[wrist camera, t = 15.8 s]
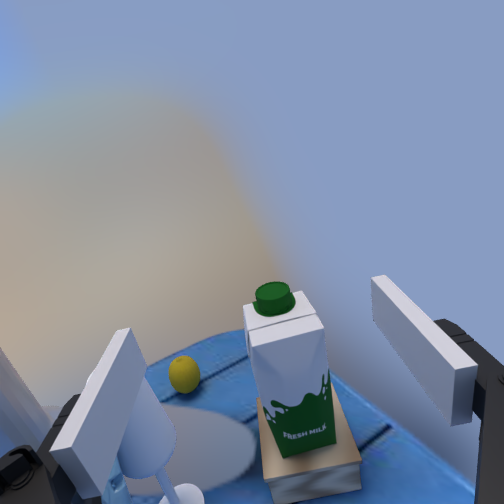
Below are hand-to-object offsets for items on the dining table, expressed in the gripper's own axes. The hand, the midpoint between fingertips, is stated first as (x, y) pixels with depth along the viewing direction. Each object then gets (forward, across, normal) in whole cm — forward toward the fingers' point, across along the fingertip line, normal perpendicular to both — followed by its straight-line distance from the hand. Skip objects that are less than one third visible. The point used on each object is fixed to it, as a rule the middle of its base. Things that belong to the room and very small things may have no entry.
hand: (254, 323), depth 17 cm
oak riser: (+15, +2, -34) cm, 37 cm away
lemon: (+31, -17, -34) cm, 49 cm away
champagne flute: (+11, -16, -34) cm, 39 cm away
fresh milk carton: (+14, +2, -28) cm, 32 cm away
